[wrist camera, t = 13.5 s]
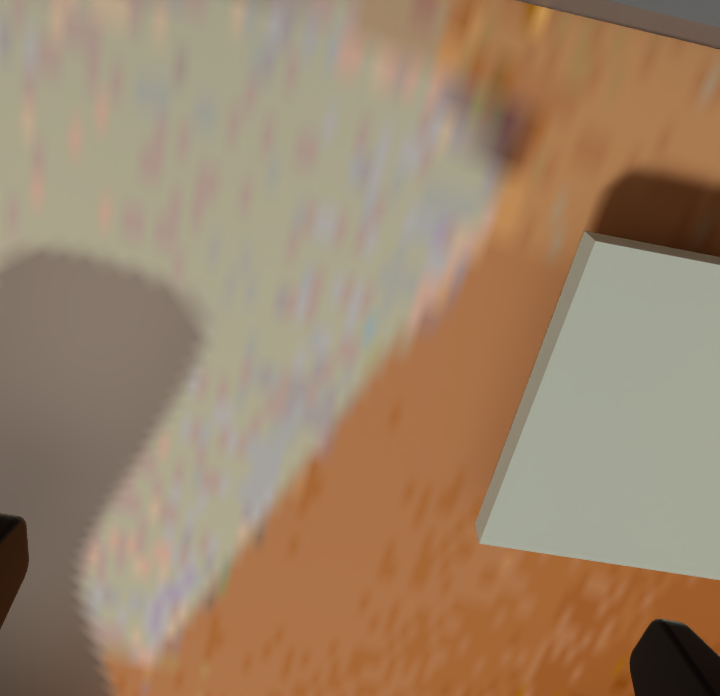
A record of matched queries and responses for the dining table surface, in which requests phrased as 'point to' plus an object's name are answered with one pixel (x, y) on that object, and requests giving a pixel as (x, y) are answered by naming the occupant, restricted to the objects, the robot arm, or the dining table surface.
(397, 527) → the dining table surface
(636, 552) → the lid
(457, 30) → the dining table surface
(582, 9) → the tub
